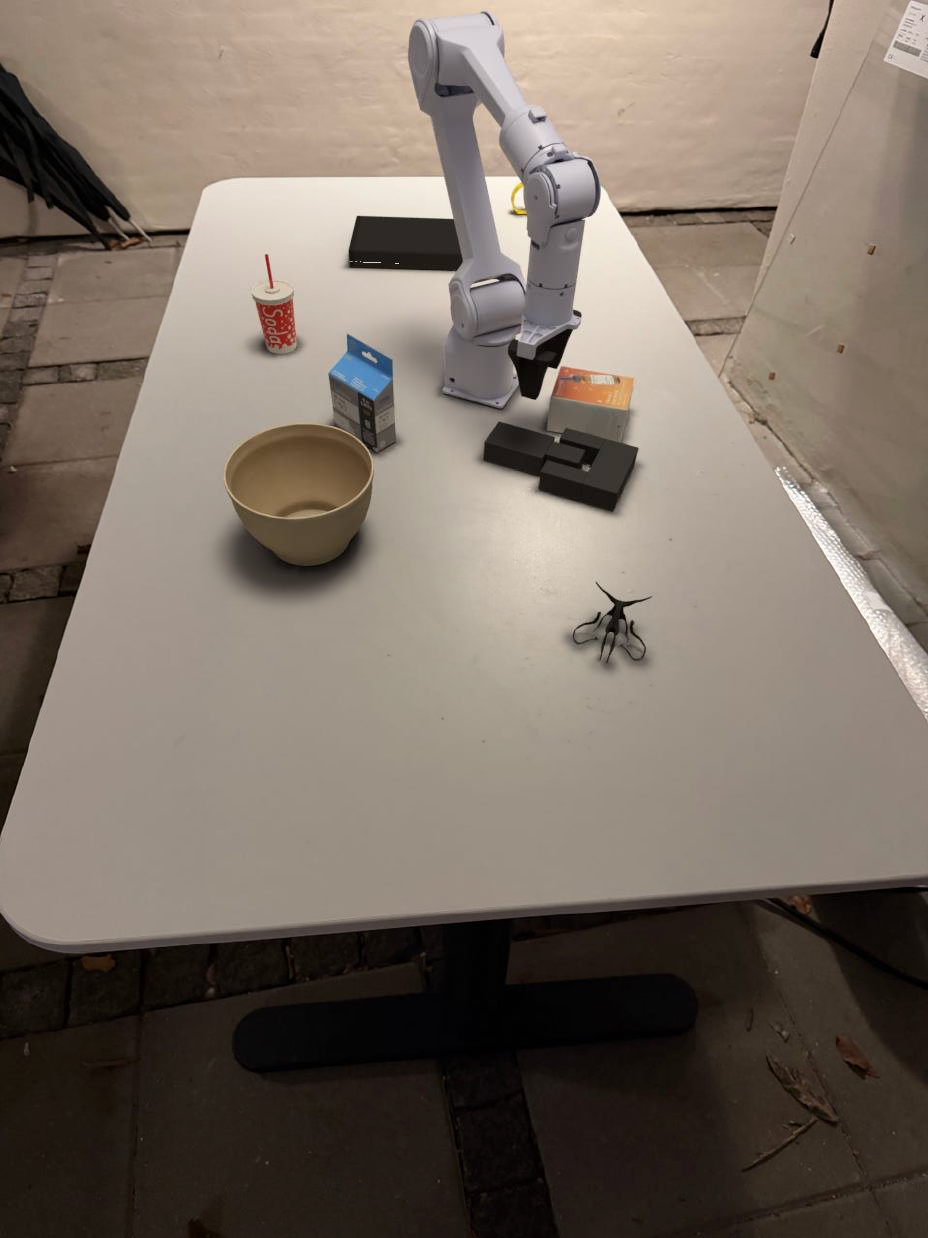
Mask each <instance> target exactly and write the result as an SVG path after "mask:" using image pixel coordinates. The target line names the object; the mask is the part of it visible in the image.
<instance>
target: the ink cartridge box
mask: <svg viewBox="0 0 928 1238" xmlns="http://www.w3.org/2000/svg"><path fill="white" fill-rule="evenodd" d="M363 352H364V353H366V354H368V353H369V354H370V356H371V357H372V358H373V359H375V360H376V362H375V361H374V360H372V359H370V358H369V357H368V356H366V355H364V354H363ZM393 361H394V359H393V358H390V357H389V356H387V355H385V354H384V353H382V352H380V351H378V350H377V349H375V348H373V347H372V346H370V345H368V344H366V343H365V342H364V341H361V340H360V339H358V338H356V337H354V336H352V335H351V334H349V333H346V352H345V353H344V354H343V355H342V357H340V358H339V360H338V361H337V362H336V364H334V366H332V368H331V369H330V370H329V372H328V373H327V375H328V381H329V389H330V396H331V397H330V398H331V404H332V412H333V419H334V420H333V421H334V425H335V427H336V428H339V429H342V430H344V431H346V432H348V433H350V434H352V435H353V436H355V437H356V438H358V439H359V440H360V441H361V442H362V443H363V444H364V445H365V446H366V447H367V448H370V449H371V450H373V451H374V452H375V453H380V452H382V451H383V450H385V449H386V448H388V447H389V446H392V445H393V444H394V443H396V441H397V437H396V435H397V434H396V432H397V431H396V414H395V394H394V393H395V391H394V362H393Z"/></svg>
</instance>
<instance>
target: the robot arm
mask: <svg viewBox="0 0 928 1238" xmlns="http://www.w3.org/2000/svg"><path fill="white" fill-rule="evenodd" d="M504 34H505V33H504V30H503V29H502V28H501V26H500V23H499V21H498V20H497V18H496V15H495V14H494V13H492V12H491V11H489V10H482V11H481V12H478V13H470V14H469V13H468V14H461V15H453V16H452V15H451V16H442V17H435V18H425V17H420V18H419V17H418V18H417V19H416V20H415V21H414V22H413V25H412V27H411V29H410V31H409V37H408V49H407V61H408V62H407V63H408V66H409V70H410V74H411V79H412V84H413V88H414V92H415V96H416V99H417V104H418V107H419V110H420V111H421V112H422V113H424V114H426V115H427V116H429V117H430V122H431V125H432V126H431V127H432V130H433V135H434V139H435V144H436V147H437V152H438V157H439V161H440V165H441V170H442V175H443V179H444V183H445V189H446V193H447V196H448V200H449V205H450V209H451V214H452V219H454V223H455V228H456V232H457V236H458V241H459V245H460V250H461V254H462V258H463V263H462V264H461V266H460V267H459V269H458V270H455V273H454V274H453V276H452V277H451V279H450V281H449V282H448V293H449V299H450V307H449V309H450V316H451V321H452V326H451V327H450V329H449V332H448V334H447V337H446V341H445V347H444V386H443V388H442V393H443V394H447V395H449V396H453V397H457V398H461V399H465V400H469V401H471V402H475V403H479V404H482V405H486V406H490V407H493V408H498V409H503V408H504V407H505V405H506V404H507V403H508V401H509V400H510V398H511V397H512V396H513V394H514V393H515V391H516V390H517V389H518V387H519V394H520V396H521V397H522V398H526V399H529V400H533V401H537V399H538V398H539V397H540V394H541V391H542V388H543V384H544V380H545V377H546V373H547V371H548V368H550V369H554V370H558V368H559V366H560V364H561V362H562V359H563V357H564V354H565V351H566V347H567V345H568V342H569V340H570V337H571V335H572V333H573V332H574V331H575V330H577V329H578V328H579V327H580V325H581V324H582V311H580V310H576V309H574V302H575V296H576V287H577V282H578V281H577V280H578V275H579V268H580V267H579V266H580V260H581V255H582V253H581V252H582V247H583V240H584V233H585V226H586V225H585V224H586V218H590V217H592V216H593V215H595V213H596V211H597V210H598V208H599V206H600V201H601V194H602V186H601V185H602V184H601V178H600V175H599V172H598V169H597V168H596V165H595V163H594V161H593V159H592V158H590V157H589V156H587V155H580V154H579V153H578V152H577V151H570V149H569V148H568V146H567V145H566V143H565V141H564V139H563V138H562V137H561V135H560V134H559V132H558V130H557V129H556V128H555V125H554V124H553V122H552V121H551V120H550V118H549V117H548V114H547V113H546V111H545V110H544V108H543V107H542V106H539V105H537V104H528V103H527V101H526V99H525V97H524V94H523V93H522V91H521V89H520V87H519V85H518V83H517V82H516V79H515V77H514V75H513V74H512V73H513V72H512V71H511V69H510V67H509V66H508V65H509V64H508V63H507V61H506V59H505V52H506V51H505V48H506V47H505V35H504ZM481 105H483V106H484V107H485V109H486V110H487V111H488V113H489V114H490V115H491V116H492V118H493V119H494V120H495V122H496V123H497V125H498V126H499V127H500V131H499V136H498V144H499V147H500V150H501V151H502V152H503V155H504V156H505V157H506V159H507V161H508V162H509V164H510V166H511V167H512V169H513V170H514V172H515V175H516V176H517V177H518V178H519V180H520V183H521V182H522V184H523V185H524V187H522V188H523V191H522V192H523V193H522V195H523V204H524V210H526V213H527V214H526V231H527V236H528V238H529V239H530V242H529V253H528V262H527V263H528V265H527V275H526V280H525V278H524V275H523V271H522V268H521V265H520V264H519V263H518V262H517V261H515V260H514V259H512V258H510V257H509V256H507V255H505V254H504V253H503V252H502V251H501V247H500V241H499V237H498V231H497V227H496V223H495V217H494V213H493V209H492V204H491V200H490V194H489V190H488V184H487V180H486V176H485V171H484V166H483V162H482V161H483V160H482V156H481V152H480V148H479V141H478V138H477V133H476V132H477V131H476V128H475V123H474V114H475V110H476V109H477V108H478V107H479V106H481ZM491 280H496V281H493V282H488V281H491ZM486 281H487V282H488V283H485V284H481V285H477V286H473V285H474V284H478V283H482V282H486ZM518 335H520V337H519V339H516V337H517V336H518ZM514 369H515V372H516V375H513V374H514Z"/></svg>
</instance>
